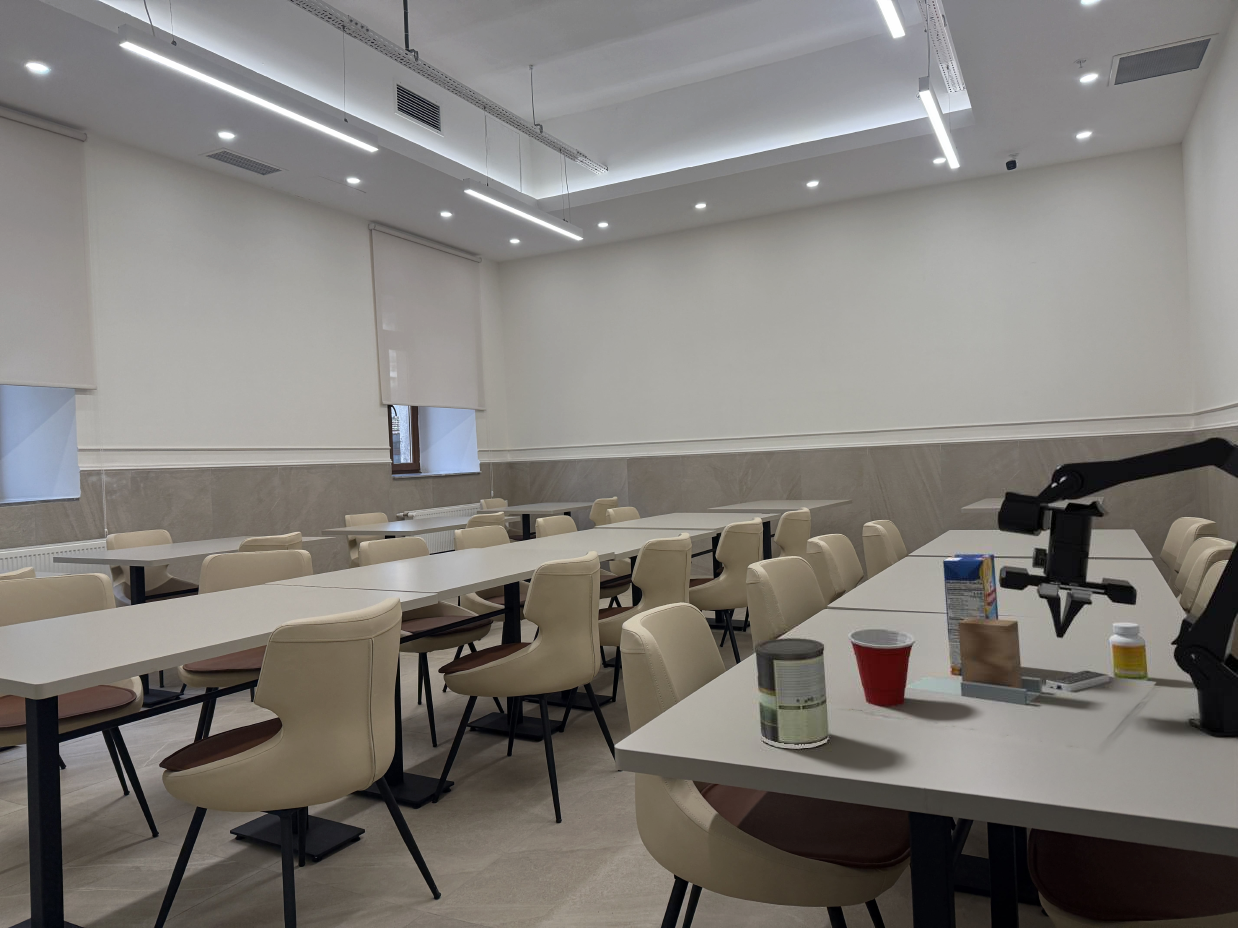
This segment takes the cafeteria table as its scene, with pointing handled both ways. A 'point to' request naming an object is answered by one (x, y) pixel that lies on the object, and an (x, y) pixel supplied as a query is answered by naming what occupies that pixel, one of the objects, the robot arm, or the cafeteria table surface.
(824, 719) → the coffee can
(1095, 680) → the multiport hub
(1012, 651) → the block
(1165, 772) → the cafeteria table surface
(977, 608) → the beverage box
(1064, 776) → the cafeteria table surface
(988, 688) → the chute
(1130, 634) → the supplement bottle
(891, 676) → the plastic cup
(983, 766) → the cafeteria table surface
